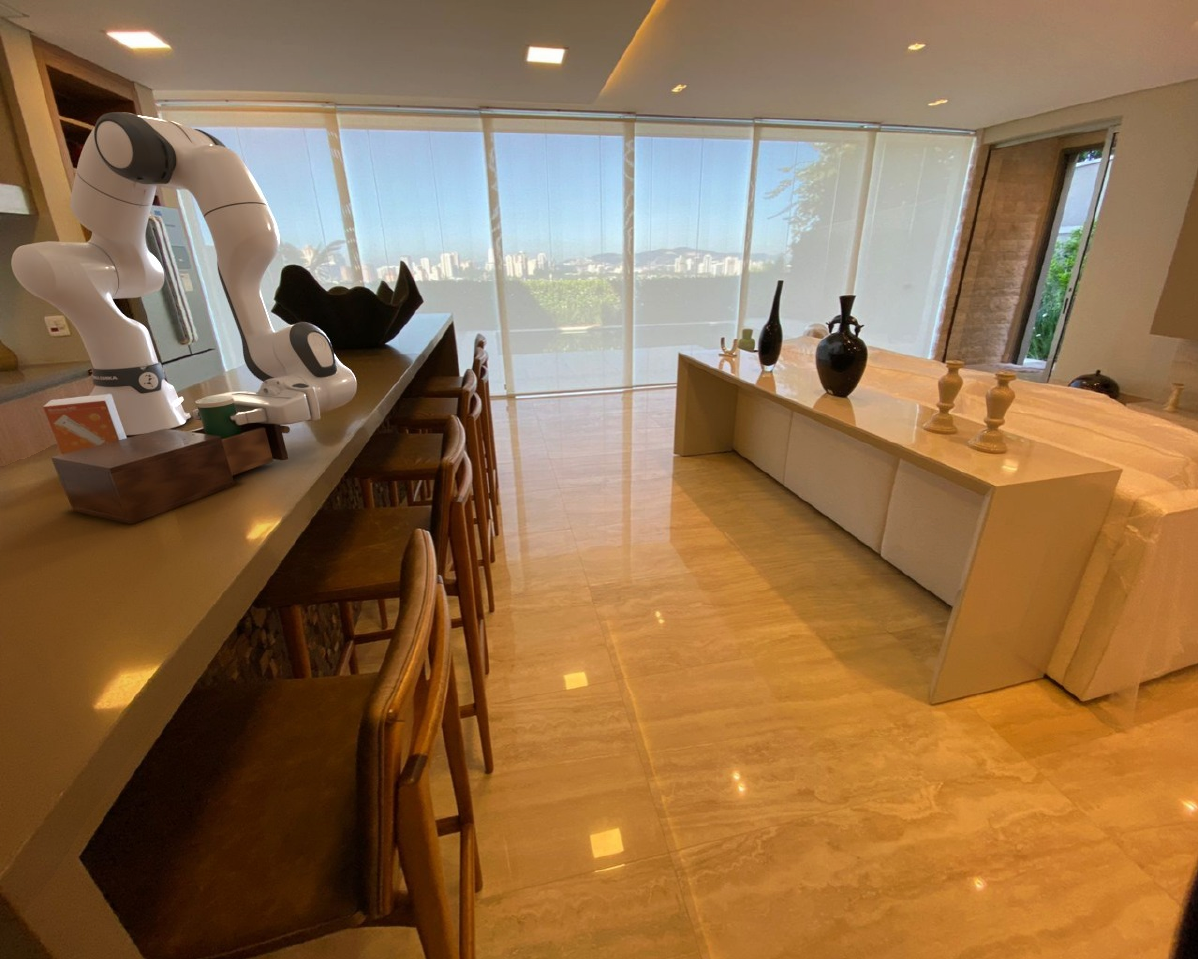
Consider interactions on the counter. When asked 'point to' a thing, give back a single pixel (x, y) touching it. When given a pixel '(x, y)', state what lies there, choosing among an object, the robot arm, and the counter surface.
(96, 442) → the small box
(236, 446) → the drawer
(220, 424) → the ball tube
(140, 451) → the cabinet
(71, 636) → the counter surface
